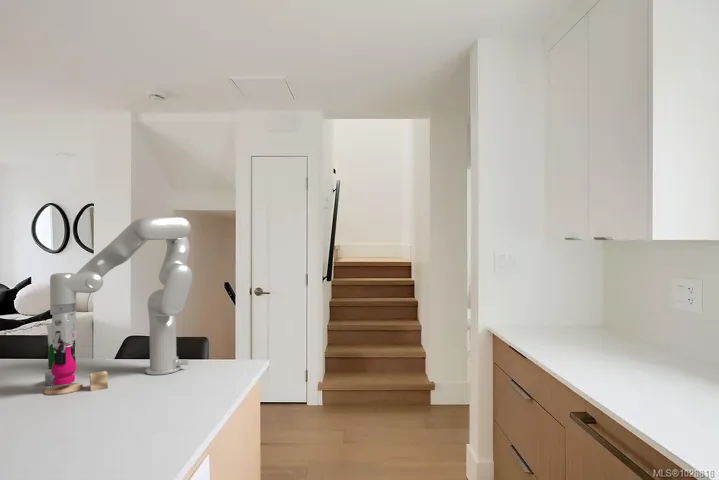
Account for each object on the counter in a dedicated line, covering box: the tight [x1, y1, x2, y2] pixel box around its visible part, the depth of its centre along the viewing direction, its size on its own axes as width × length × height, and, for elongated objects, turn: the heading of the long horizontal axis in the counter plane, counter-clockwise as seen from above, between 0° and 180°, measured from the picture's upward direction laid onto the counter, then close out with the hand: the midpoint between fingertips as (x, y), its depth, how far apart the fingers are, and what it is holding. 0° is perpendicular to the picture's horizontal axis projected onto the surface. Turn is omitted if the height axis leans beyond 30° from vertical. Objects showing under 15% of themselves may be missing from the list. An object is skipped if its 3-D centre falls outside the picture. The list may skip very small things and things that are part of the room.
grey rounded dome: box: [44, 370, 55, 387], centre depth 165 cm, size 8×8×4 cm
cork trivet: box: [43, 382, 84, 396], centre depth 156 cm, size 11×11×1 cm
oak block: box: [89, 370, 109, 392], centre depth 158 cm, size 5×5×5 cm
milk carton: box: [46, 323, 76, 370], centre depth 188 cm, size 9×9×20 cm
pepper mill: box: [50, 334, 77, 385], centre depth 156 cm, size 7×7×20 cm
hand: (64, 361), depth 156 cm, fingers closed on pepper mill, 5 cm apart
